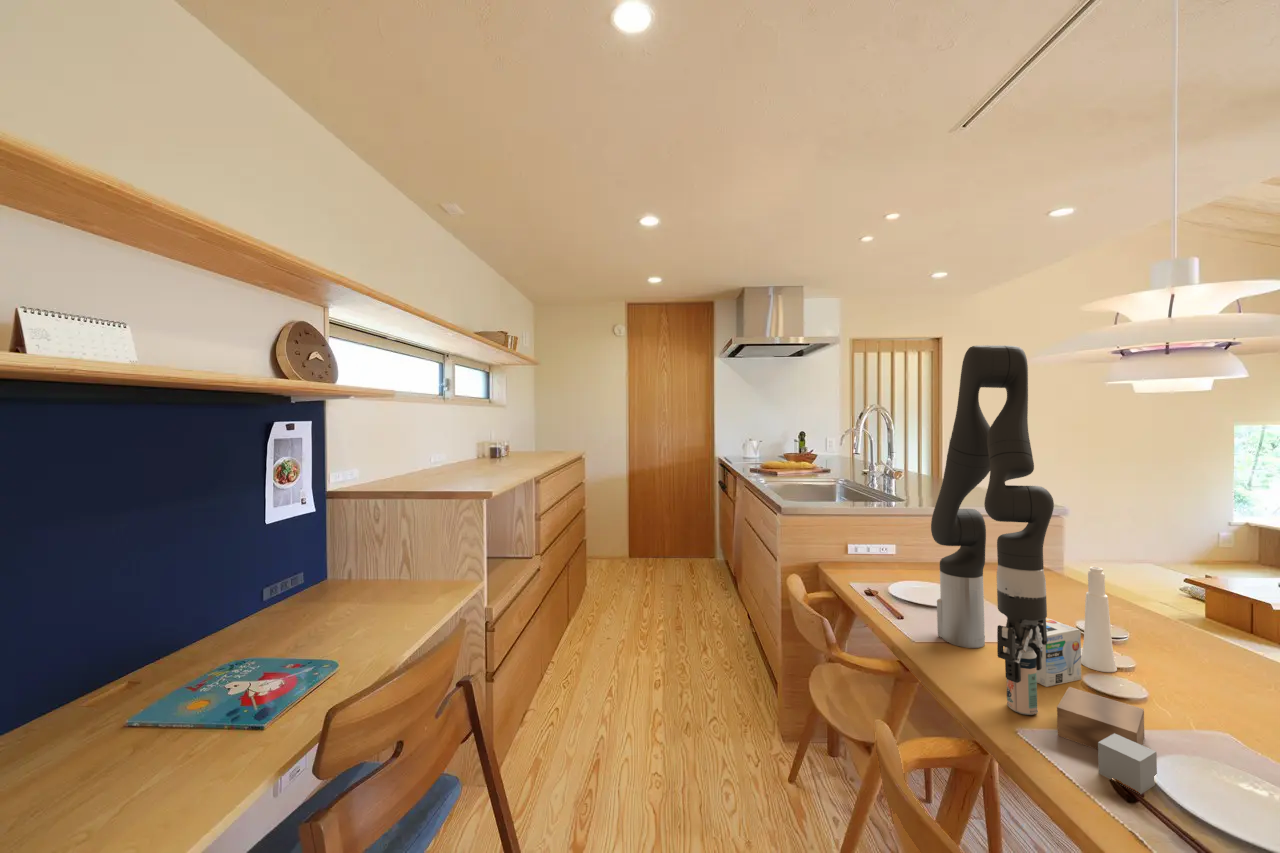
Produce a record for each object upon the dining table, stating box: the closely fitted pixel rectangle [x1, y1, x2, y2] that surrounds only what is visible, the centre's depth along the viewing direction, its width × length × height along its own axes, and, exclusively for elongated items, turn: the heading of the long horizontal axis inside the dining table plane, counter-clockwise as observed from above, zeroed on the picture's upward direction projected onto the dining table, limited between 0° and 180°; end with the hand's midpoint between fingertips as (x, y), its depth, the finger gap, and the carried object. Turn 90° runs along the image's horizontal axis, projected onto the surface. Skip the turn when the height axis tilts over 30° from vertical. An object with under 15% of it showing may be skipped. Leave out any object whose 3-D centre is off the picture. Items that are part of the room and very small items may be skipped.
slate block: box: [1097, 733, 1158, 795], centre depth 77 cm, size 5×5×5 cm
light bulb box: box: [1036, 618, 1082, 688], centre depth 108 cm, size 11×7×11 cm, turn 106°
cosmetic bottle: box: [1081, 566, 1118, 673], centre depth 111 cm, size 6×6×22 cm
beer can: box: [1006, 643, 1039, 716], centre depth 96 cm, size 5×5×12 cm
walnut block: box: [1056, 686, 1145, 751], centre depth 87 cm, size 10×10×5 cm
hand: (1023, 674), depth 95 cm, fingers open, 8 cm apart
